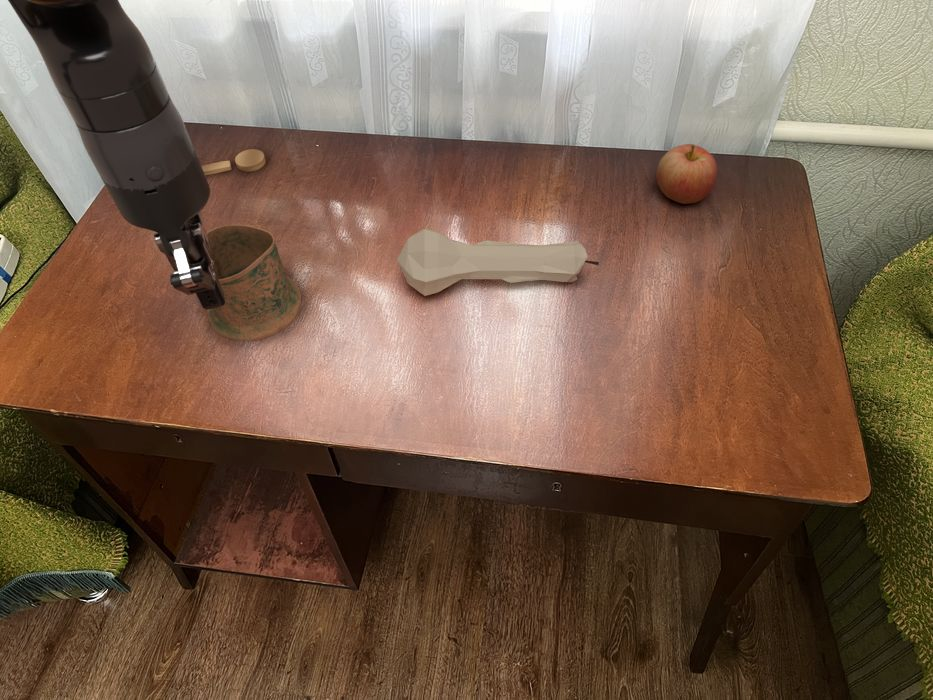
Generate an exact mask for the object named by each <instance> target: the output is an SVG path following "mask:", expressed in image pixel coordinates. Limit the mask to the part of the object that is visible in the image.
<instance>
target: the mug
mask: <svg viewBox="0 0 933 700" xmlns="http://www.w3.org/2000/svg"><path fill="white" fill-rule="evenodd" d="M206 233H207V235H208V237H209V240H210V246H211V248H210V252H211V257H212V260H213V261H214V264H215V265H214V271H215V273H216V276H217V278H218V280H219V282H220V284H221V287H222V289H223V291H224V296H225V305H223V306H220V307H216V308H212V309H206V310H207V311H206V313H207V320H208V322H209V324H210V326H211V328H212V330H214V331H215V332H216V333H217V334H219V335H220V336H221V337H223V338H226V339H228V340H232V341H237V342H252V341H253V342H255V341H259V340H263V339H267V338H269V337H271V336H272V337H273V336H274V335H276V334H278V333H279V332H281V331H282V330H284V329H286V328H287V327H288V326H289V325H291V323H292V322H293V321H294V320H295V318H296V317H297V316H298V314H299V312H300V308H301V305H302V293H301V290H300V288H299V286H298V284H297V283H296V282H295V281H294V280H293V278H291V277H289V276H288V275H287V274H286V271H285V268H284V264H283V262H282V259H281V256H280V253H279V249H278V247H277V243H276V239H275V237H274V235H273V233H271V232H270V231H268V230H266V229H263V228H261V227H257V226H252V225H247V224H240V223H239V224H236V223H233V224H232V223H231V224H225V225H220V226H217V227H214V228H212V229H209V231H206Z"/></svg>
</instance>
